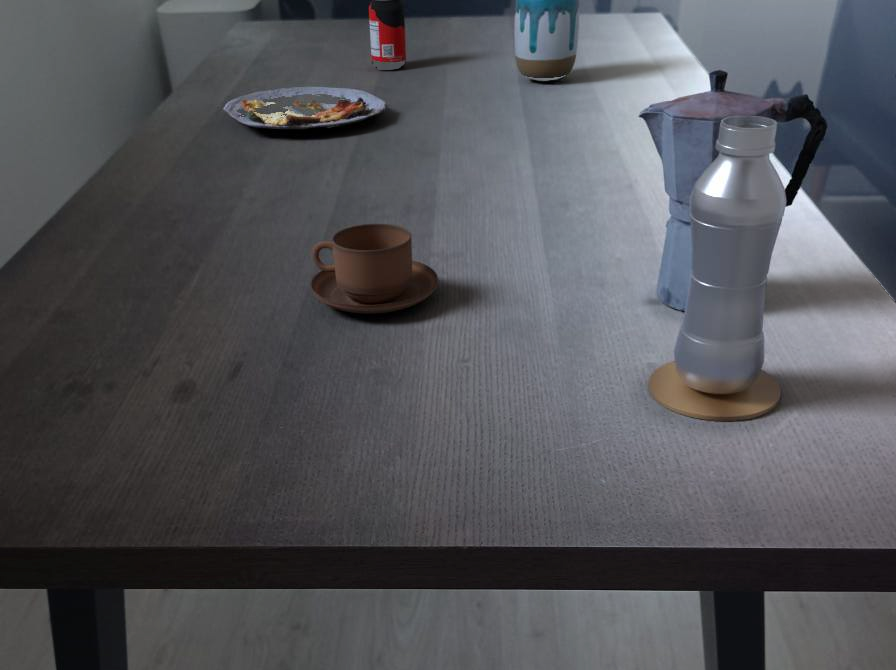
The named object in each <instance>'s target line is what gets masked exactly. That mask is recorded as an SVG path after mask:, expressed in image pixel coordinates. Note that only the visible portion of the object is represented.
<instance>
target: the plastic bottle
mask: <svg viewBox="0 0 896 670" xmlns="http://www.w3.org/2000/svg"><path fill="white" fill-rule="evenodd" d="M777 124H778V122H776V121H775V120H773V119H770V118H766V117H759V116H733V117H727V118H724V119H722V120H721V123H720V129H719V136H718V140H717V141H716V147H715V148H716V149H717V150H718V151H720V152H719V155H718V157H717V158H716V159H715V160H714V161H713V162H712V164H711V165H710V166H709V167H708V168H707V169H706V170H705V171H704V172H703V174H702V175H701V176H700V178H699V179H698V180H697V181H696V183H695V185H694V188H693V190H692V193H691V195H690V227H691V247H692V248H691V269H692V270H691V273H690V286H689V292H688V297H687V302H686V307H685V311H684V312H683V318H682V323H681V325H680V328H679V331H678V334H677V337H676V341H675V345H674V350H673V355H674V356H673V357H674V361H675V368H676V371H677V373H678V375H679V376H680V378H681V380H682V381H683V382H684V383H685V384H686V385H688V386H689V387H691V388H693V389H696V390H699V391H702V392H707V393H713V394H732V393H738V392H741V391H744V390H746V389H747V388H749V387H750V386H751V385H752V384H753V383H754V382H755V381H756V380H757V379H758V377H759V374H760V371H761V370H763V369H762V368H763V366H764V363H765V332H764V331H763V330H764V316H765V315H764V314H765V293H766V286H767V280H768V276H767V275H768V274H769V272H770V266H771V260H772V256H773V251H774V249H775V245H776V243H777V238H778V235H779V232H780V229H781V225H782V222H783V217H784V216H785V215H784V214H785V210H786V207H785V206H786V202H787V200H786V194H785V188H786V187H785V186H784V183H783V181H782V180H781V177H780V175H779V173H778V171H777V170H776V168H775V166H774V164H773V163H772V161H771V159H770V154H773V153H774V152H775V150H776V134H777V129H778V125H777Z"/></svg>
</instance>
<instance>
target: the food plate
mask: <svg viewBox="0 0 896 670" xmlns="http://www.w3.org/2000/svg"><path fill="white" fill-rule="evenodd" d="M303 94H312V95H317V94H327V95H332V97H340V98H342V97H345V98H346V99H350V100H351V102H356V103H354V104H351V102H349V101H348V100H344V99H340V100H339V101H338V102H337V104H325V103H316V101H315V100H314V101H313V100H311V101H310V102H309V103H308V106H305V105H304V104H303V103H300V102H298V101H294V100H293V101H294V102H293V104H294V105H296V106H300V107H305V108H303V109H306V108H311V109H312V110H320V111H321V110H324V112H318V113H316V112H315V111H314V112H313V113H315V115H307V114H304V113H301V112H299V111H297V110H295V109H293V108H292V106H290V107H288V106H286V107H283V108H285V109H288V111H286V112H285V113H283V112H276V113H271V114H260V113H257V112H254V111H256V110H255V109H253V108H262V107H263V106H267V105H270V104H276V103H275V102H266V103H264V102H263V100H262V99H268V100H270V99H274V98H279V97H282V96H285V97H292V96H298V95H303ZM317 96H320V95H317ZM269 98H270V99H269ZM387 107H388V106H387V103H386V101H385V100H383V99H381V98H379V97H377V96H375V95H373V94H372V93H369V92H367V91H364V90H362V89H355V88H347V87H346V88H345V87H328V86H327V87H326V86H297V87H296V86H291V87H280V88H273V89H270V90H265V89H264V90H263V91H256V92H253V93H249V94H245V95H242V96H238V97H236V98H234V99H231V100H230V101H228V102H227V103H225V105H224V107H223V108H222V110H224V112H225V113H227V114H228V115H229V116H230V117H232V118H234V120H237V121H238V122H239V123H241V124H243V125H246V126H247V127H252V128H258V129H259V128H260V129H273V130H275V129H276V130H308V129H311V128H316V129H319V128H321V127H331V128H336V127H337V128H339V127H342V126H347V125H349V124H353V123H359V122H361V121H364V120H366V119H369V118H371V117H377V116H379V115H381V114H383V113H385V111H386V108H387ZM366 108H369V110H367V109H366ZM240 110H245V111H248V113H247V116H246V117H241V116H240V117H238V115H241V113H239V112H238V111H240ZM290 110H291V111H290ZM295 112H296V113H295ZM297 113H298V114H297ZM283 114H287V115H286V116H285V115H283ZM281 115H282V116H281ZM242 116H244V115H242ZM267 117H268V118H267ZM261 118H262V119H263V120H262V119H261ZM264 123H267V124H265V125H264ZM337 125H338V126H337ZM333 126H334V127H333ZM331 128H330V129H331Z"/></svg>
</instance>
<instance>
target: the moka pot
mask: <svg viewBox="0 0 896 670" xmlns="http://www.w3.org/2000/svg"><path fill="white" fill-rule="evenodd" d="M728 75H729V72H727V71H725V70H721V69H717V70H714V71H711V72H709V73H708V78H709V85H710V90H707V91H703V92H699V93H693V94H688V95H684V96H680V97H677V98H674V99H672V100H665V101H661V102H655V103H651V104H649V106H648V107H646V108H644V109H643V110H641V111H639V113H638V118H641V119H643V121H644V123H645V124H646V127H647V129H648V131H649V134H650V137H651V138H652V141H653V144H654V147H655V148H656V151H657V154H658V155H659V158H660V160H661V165H662V172H663V183H664V192H665V193H666V194H667V196H668V197H669V200H668V213H669V215H670V217H669V218H668V220H667V221H666V222H665V223H666V224H665V227H666V232H665V239H664V244H663V250H662V256H661V262H660V266H659V267H660V268H659V274H658V280H657V285H656V295H657V297H658V300H659V301H660V302H661V303H662V304H664V305H666V306H667V307H669V308H671V309H674V310H678V311H683V312H685V307H686V302H687V297H688V292H689V286H690V273H691V270H692V269H691V248H692V247H691V227H690V195H691V193H692V190H693V188H694V185H695V183H696V181H697V180H698V179H699V178H700V176H701V175H702V174H703V172H704V171H705V170H706V169H707V168H708V167H709V166H710V165H711V164H712V162H713V161H714V160H715V159H716V158H717V157H718V155H719V152H720V151H718V150H717V149H716V148H715V147H716V141H717V140H718V136H719V129H720V123H721V120H722V119H724V118H727V117H733V116H759V117H766V118H770V119H773V120H775V121H776V122H777V123H789V122H792V121H794V120H797V119H804V120H806V121H807V122H808V123H809V126H810V130H809V131H808V132H807V134H806V136H805V140H804V143H803V145H802V148H801V150H800V152H799V154H798V158H797V159H796V161H795V163H794V167H793V170H792V173H791V175H790V179H789V180H788V183H787V185H786V186H785V187H784V188H785V194H786V200H787V202H786V206H785V208H786V207H790V206H793V202H794V201H795V200H796V199H795V198H796V196H797V195H798V193H799V191H800V189H801V187H802V184H803V180H804V179H805V178H806V175H807V173H808V171H809V169H810V165H811V164H812V162H813V160H814V159H815V157H816V153H817V151H818V150H819V147H820V145H821V144H822V142H823V141H824V139H825V136H826V134H827V129H828V123H827V120H826V119H825V118H824V117H823V116H822V112H821V111H820V109H819V108H817V107H816V106H815V105H814V101H813V100H811V99H810V97H809V95H808V94H806V93H805V94H801V95H796V96H792V97H789V98H787V97H770V98H763V97H761V96H759V95H754V94H750V93H742V92H736V91H730V90H725V88H726V83H727V80H728Z"/></svg>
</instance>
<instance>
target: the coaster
mask: <svg viewBox="0 0 896 670" xmlns="http://www.w3.org/2000/svg"><path fill="white" fill-rule="evenodd" d="M648 392H649V394H650V395H651V397H652V398H653V399H654V400H655V401H656V403H658V404H660V406H662V407H664V408H666V409H668V410H670V411H672V412H674V413H677V414H679V415H681V416H682V415H683V416H686V417H689V418H693V419H694V418H695V419H699V420H704V421H714V422H733V421H734V422H735V421H744V420H750V419H754V418H757V417H760V416H764V415H765V414H767V413H769V412H771V411H772V410H774V409H775V408H776V407H777V406H778V404H779V402H780V401H781V395H782V389H781V386H780V384H779V382H778V381H777V380H776V378H774V377H773V376H772V375H771V374H769V373H768V372H766V371H765V370H763V369H761V371H760V374H759V377H758V379H757V380H756V381H755V382H754V383H753V384H752V385H751V386H750V387H749V388H747V389H746V390H744V391H741V392H738V393H732V394H713V393H707V392H702V391H699V390H696V389H693V388H691V387H689V386H688V385H686V384H685V383H684V382H683V381H682V380H681V378H680V376H679V375H678V373H677V371H676V368H675V360H673V361H670V362H667V363H664V364H662V365H661V366H659V367H657V368H656V369H654V370H653V371H652V373H651V374H650V376H649V378H648Z"/></svg>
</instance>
